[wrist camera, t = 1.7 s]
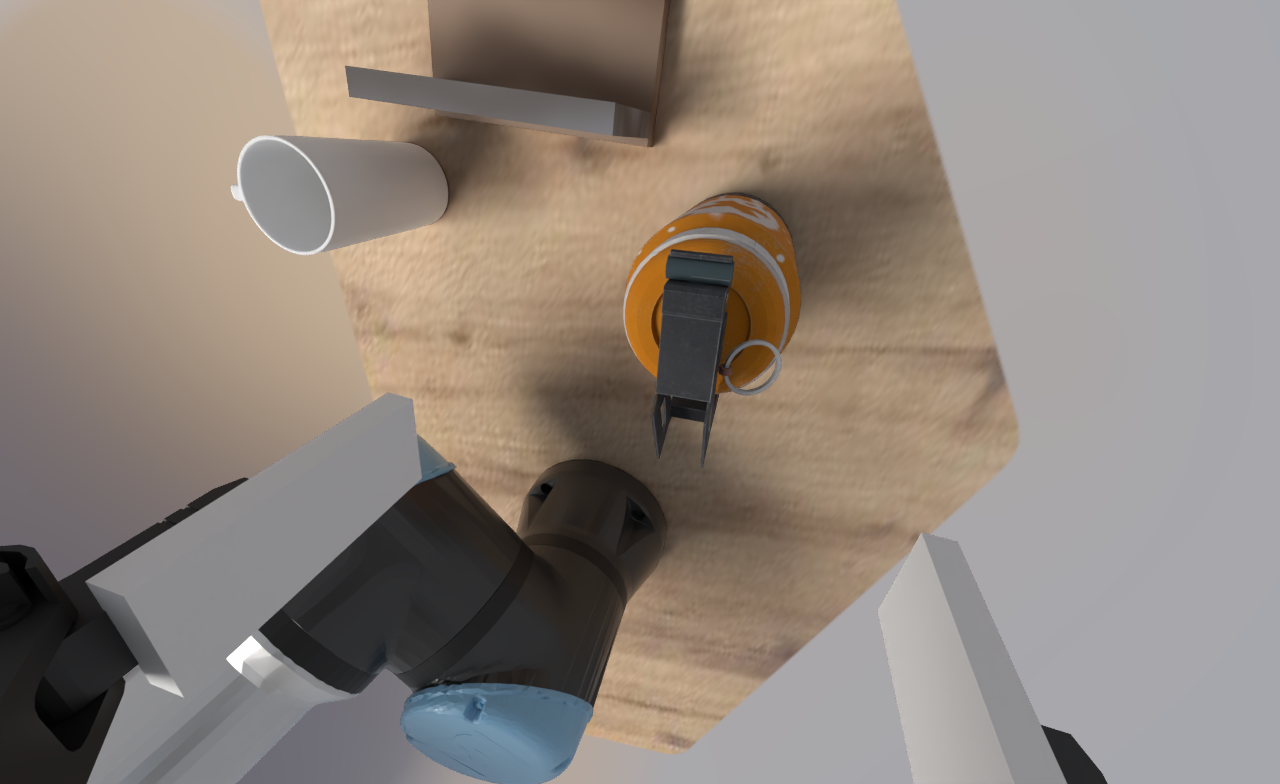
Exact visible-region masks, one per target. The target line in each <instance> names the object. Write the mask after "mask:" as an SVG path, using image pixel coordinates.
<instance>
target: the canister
mask: <svg viewBox="0 0 1280 784" xmlns="http://www.w3.org/2000/svg"><path fill="white" fill-rule="evenodd" d="M800 306H801V291H800V284H799V277H798V271H797V265H796V259H795V253H794V247H793V242H792V237H791V234H790V231H789V229H788V226H787V225H786V223H785V221H784V220H783V218H782V217H781V216H780V214H779V213H778V212H777V211H776V210H775V209H774V208H773V207H771V206H770V205H769V204H768V203H766V202H764V201H763V200H761V199H759V198H756V197H753V196H751V195H746V194H741V193H727V194H721V195H717V196H714V197H711V198H708V199H706V200H704V201H702V202H701V203H699V204H697V205H696V206H694V207H693V208H692V209H690V210H689V211H687V212H686V213H684V214H683V215H681V216H680V217H678V218H677V219H676V220H674V221H673V222H671V223H670V224H668V225H667V226H665V227H664V228H663V229H661V230H660V231H659V232H657V233H656V234H655V235H653V237H652V238H651V239H650V240H649V241H648V242H647V243H646V244H645V245H644V246H643V248H642V249H641V251H640V252H639V254H638V255H637V256H636V258H635V261H634V263H633V265H632V267H631V269H630V273H629V276H628V280H627V286H626V293H625V297H624V304H623V322H624V327H625V333H626V335H627V338H628V341H629V344H630V346H631V348H632V350H633V352H634V354H635V355H636V357H637V358H638V359H639V361H640V362H641V363H642V365H643V366H644V367H645V368H646V369H647V370H648V371H649V372H650V373H651V374H652V375H653V376H655V377H656V378H657V380H656V391H655V397H654V403H653V408H652V413H651V417H652V424H653V431H654V439H655V446H656V454H657V459H659V457H660V454H661V450H662V447H663V443H664V440H665V436H666V433H667V429H668V425H669V422H670V420H671V417H677V418H683V419H688V420H694V421H699V422H704V429H703V443H702V458H701V467H702V468H703V464H704V459H705V455H706V450H707V445H708V440H709V435H710V430H711V426H712V422H713V418H714V414H715V410H716V406H717V401H718V397H719V394H720V393H726V392H730V391H733V392H735V393H737V394H740V395H754V394H758V393H760V392H762V391H764V390H766V389H767V388H768V387H770V386H771V385H772V384H773V383H774V381H775V380H776V379H777V377H778V375H779V373H780V370H781V356H780V354H781V353H782V351H783V350H784V349H785V347H786V346H787V344H788V343H789V341H790V339H791V337H792V335H793V333H794V331H795V329H796V325H797V322H798V319H799V314H800ZM775 360H776V365H775V369H774V372H773V374H772V375H771V377H770V378H769V379H768V381H766V382H765V383H764V384H763V385H761V386H759V387H757V388H755V389H751V390H742V389H739V388H742V387H744V386H746V385H748V384H750V383H752V382H753V381H755V380H756V379H757V378H759V377H760V376H761V375H763V374H764V373H765V372H766V371H767V370H768V369H769V368H770V367H771V366H772V364H773V363H774V361H775ZM671 396H673V397H672V399H671ZM662 403H663V406H664V423H663V428H662V419H661V410H660V407H661V405H662Z"/></svg>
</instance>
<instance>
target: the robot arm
mask: <svg viewBox="0 0 1280 784" xmlns="http://www.w3.org/2000/svg"><path fill="white" fill-rule="evenodd" d="M455 468H456V466H455V465H454V463H451V462H447V461H446V460H445V459H444V458H443V457H442V456H441V455H440V454H439V453H438V452H437V451H436V450H435V449H434V448H433V447H431V446H430V445H429V444H428V443H427V442H426V441H425V440H424V439H423V438H422V437H420V436H419V435H418V434H417V433H416V425H415V417H414V408H413V400H412V399H410V398H407V397H403V396H399V395H395V394H391V393H386V394H385V395H383V396H382V397H380V398H378V399H377V400H375V401H374V402H372V403H371V404H369V405H367V406H366V407H364V408H362V409H361V410H359V411H358V412H356V413H354V414H353V415H351V416H350V417H348V418H346V419H345V420H343V421H342V422H340V423H338V424H337V425H335V426H333V427H332V428H330V429H329V430H327V431H325V432H324V433H322V434H321V435H319V436H317V437H316V438H314V439H313V440H311V441H310V442H308V443H306V444H305V445H303V446H302V447H300V448H298V449H297V450H295V451H294V452H292V453H290V454H289V455H287V456H285V457H284V458H282V459H281V460H279V461H278V462H276V463H274V464H273V465H271V466H270V467H268V468H266V469H265V470H263V471H261V472H260V473H258V474H257V475H255V476H253V477H252V478H250V479H248V478H242V479H239V480H236V481H233V482H231V483H228V484H226V485H223V486H220V487H218V488H215V489H213V490H211V491H209V492H208V493H206V494H204V495H203V496H201V497H199V498H198V499H196V500H194V501H193V502H191V503H190V504H188V505H186V508H185V509H180V510H178V511H176V512H175V513H173V514H171V515H170V516H168V517H166V518H165V519H164V521H163V522H162V523H156V524H155V525H153V526H151V527H150V528H148V529H146V530H145V531H143V532H141V533H140V534H138V535H136V536H135V537H133V538H131V539H130V540H128V541H127V542H125V543H123V544H121V545H120V546H118V547H116V548H115V549H113V550H111V551H110V552H108V553H107V554H105V555H103V556H101V557H100V558H98V559H97V560H95V561H93V562H92V563H90V564H88V565H87V566H85V567H83V568H82V569H80V570H78V571H77V572H75V573H73V574H72V575H70V576H68V577H66V578H64V579H62V580H61V581H59V582H58V581H57V580H56V578H55V577H54V575H53V574H52V573H51V571H50V570H49V568H48V567H47V565H46V564H45V562H44V561H43V559H42V558H41V556H40V555H39V554H38V552H37V551H36V550H35V548H33V547H28V546H23V545H10V546H0V784H236V783H237V782H238V781H239V780H240V779H241V778H242V777H243V776H244V775H245V774H246V773H247V772H248V771H249V770H250V769H251V768H252V767H253V766H254V765H255V764H256V763H257V762H258V761H259V760H260V759H261V758H262V757H263V756H264V755H265V754H266V753H267V752H268V751H269V750H270V749H271V748H272V747H273V746H274V745H275V744H276V743H277V742H278V741H279V740H280V739H281V738H282V737H283V736H284V735H285V734H286V733H287V732H288V731H289V730H290V729H291V728H292V727H293V726H294V724H296V723H297V722H298V721H299V720H300V719H301V718H302V717H303V716H304V715H305V714H306V713H307V712H308V711H309V710H310V709H311V708H312V707H313V706H315V705H318V704H320V703H326V702H332V701H338V700H345V699H351V698H354V697H356V696H357V695H358V694H360V693H361V692H362V691H363V690H364V689H365V688H366V687H367V686H368V685H369V683H371V681H372V680H373V679H374V678H375V677H376V676H377V675H378V674H379V673H380V672H381V671H383V670H384V669H388V670H389V671H391V672H392V673H394V674H395V675H396V676H397V677H398V678H399V679H401V680H402V681H403V682H404V683H405V684H406V685H408V686H409V688H410V689H411V690H412V691H413V694H411V696H410V697H409V698H408V699H407V700H406V702H405V703H404V709H403V712H402V715H401V719H400V726H401V729H402V731H403V732H404V733H406V737H407V740H408V741H409V742H410V743H411V744H412V745H413V746H414V747H415V748H416V749H417V750H419V751H420V752H421V753H423V754H424V755H426V756H427V757H429V758H430V759H432V760H433V761H435V762H437V763H439V764H441V765H443V766H445V767H447V768H449V769H451V770H454V771H456V772H459V773H461V774H464V775H467V776H470V777H473V778H476V779H480V780H484V781H488V782H492V783H497V784H541V783H544V782H547V781H550V780H552V779H554V778H555V777H557V776H559V775H560V774H561V773H562V772H563V771H565V769H566V768H567V767H568V766H569V764H570V763H571V761H572V759H573V757H574V755H575V753H576V750H577V747H578V745H579V742H580V740H581V738H582V735H583V733H584V730H585V728H586V726H587V723H588V722H589V721H590V720H591V718H592V716H593V707H594V704H595V701H596V698H597V694H598V691H599V688H600V685H601V682H602V679H603V676H604V672H605V669H606V666H607V663H608V660H609V657H610V654H611V650H612V647H613V644H614V641H615V638H616V635H617V632H618V628H619V625H620V622H621V619H622V616H623V613H624V610H625V607H626V604H627V602H628V601H629V600H630V599H631V597H632V596H633V595H634V594H635V592H636V591H637V590H638V589H639V588H640V586H641V585H642V584H643V583H644V582H645V580H646V579H647V578H648V577H649V575H650V574H651V573H652V572H653V571H654V569H655V568H656V566H657V564H658V562H659V560H660V557H661V554H662V551H663V547H664V544H665V540H666V523H665V518H664V515H663V513H662V510H661V508H660V506H659V504H658V503H657V501H656V500H655V498H654V497H653V495H652V494H651V493H650V492H649V491H648V490H647V489H646V488H645V487H644V486H643V485H642V484H641V483H640V482H639V481H637V480H636V479H635V478H633V477H632V476H630V475H629V474H627V473H625V472H624V471H622V470H620V469H617V468H615V467H613V466H610V465H607V464H604V463H600V462H595V461H587V460H575V461H567V462H563V463H560V464H557V465H555V466H553V467H551V468H549V469H548V470H546V471H545V472H544V473H543V474H542V475H541V476H540V477H539V478H538V479H537V481H536V482H535V483H534V485H533V486H532V488H531V489H530V490H529V492H528V494H527V496H526V498H525V500H524V503H523V506H522V511H521V515H520V519H519V524H518V528H517V532H516V533H515V532H514V531H513V530H512V529H511V527H510V526H509V525H508V524H507V523H506V522H505V521H504V520H503V519H502V518H501V517H500V516H499V515H498V514H497V513H496V512H495V511H494V510H493V509H492V508H491V507H490V506H489V505H488V504H487V503H486V502H485V500H484V499H483V498H482V497H481V496H480V495H479V494H478V493H477V492H476V491H475V490H474V489H473V488H472V487H471V486H470V485H469V484H468V483H467V482H466V481H465V480H464V479H463V478H462V477H461V476H460V475H459V473H458V472H457V471H456V470H455ZM878 615H879V620H880V625H881V630H882V634H883V639H884V644H885V648H886V653H887V658H888V663H889V667H890V672H891V677H892V681H893V686H894V691H895V696H896V700H897V705H898V709H899V715H900V719H901V724H902V728H903V733H904V738H905V743H906V748H907V752H908V757H909V762H910V767H911V771H912V776H913V781H914V784H1107V782H1106V780H1105V778H1104V776H1103V774H1102V773H1101V771H1100V770H1099V769H1098V768H1097V766H1096V765H1095V764H1094V763H1093V761H1092V760H1091V759H1090V758H1089V756H1088V755H1087V754H1086V753H1085V752H1084V750H1083V749H1082V748H1081V747H1080V745H1079V744H1078V743H1077V742H1076V741H1075V739H1074V738H1073V737H1072V736H1071V734H1068V733H1065V732H1062V731H1058V730H1055V729H1052V728H1049V727H1046V726H1043V725H1040V723H1039V721H1038V718H1037V716H1036V714H1035V712H1034V709H1033V707H1032V705H1031V703H1030V701H1029V698H1028V696H1027V694H1026V692H1025V689H1024V687H1023V685H1022V683H1021V681H1020V678H1019V676H1018V674H1017V672H1016V670H1015V668H1014V665H1013V663H1012V661H1011V659H1010V656H1009V654H1008V652H1007V650H1006V648H1005V645H1004V643H1003V641H1002V639H1001V636H1000V634H999V632H998V630H997V628H996V625H995V623H994V621H993V619H992V617H991V614H990V612H989V610H988V608H987V605H986V603H985V601H984V599H983V597H982V594H981V592H980V590H979V588H978V586H977V583H976V581H975V579H974V577H973V575H972V572H971V570H970V568H969V566H968V563H967V561H966V559H965V557H964V555H963V552H962V550H961V548H960V546H959V544H958V542H957V541H952V540H949V539H945V538H941V537H937V536H934V535H930V534H926V533H921V534H920V536H919V538H918V540H917V542H916V543H915V545H914V547H913V549H912V550H911V552H910V554H909V556H908V558H907V559H906V561H905V563H904V565H903V567H902V568H901V570H900V572H899V574H898V575H897V577H896V579H895V581H894V583H893V584H892V586H891V588H890V590H889V592H888V593H887V595H886V597H885V599H884V600H883V603H882V604H881V606H880V608H879V609H878ZM137 665H138V666H137ZM135 666H137V667H135ZM134 667H135V668H134ZM133 668H134V669H133ZM132 669H133V670H132ZM130 670H132V671H131V672H129V671H130ZM128 672H129V673H128ZM127 673H128V674H127ZM125 674H127V675H126V676H125V677H123V676H124V675H125Z"/></svg>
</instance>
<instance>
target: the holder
mask: <svg viewBox="0 0 1280 784" xmlns="http://www.w3.org/2000/svg"><path fill="white" fill-rule="evenodd" d="M669 8H670V0H428V10H429V25H430V39H431V54H432V68H433V78H432V77H424V76H417V75H410V74H402V73H395V72H388V71H380V70H373V69H366V68H358V67H351V66H345V68H346V75H347V83H348V90H349V97H355V98H362V99H368V100H375V101H382V102H389V103H395V104H402V105H409V106H416V107H422V108H429V109H435V112H436V115H438V116H444V117H451V118H458V119H464V120H471V121H478V122H484V123H491V124H498V125H504V126H511V127H518V128H524V129H531V130H537V131H544V132H551V133H557V134H564V135H571V136H577V137H584V138H591V139H597V140H604V141H611V142H617V143H624V144H631V145H637V146H644V147H652V145H653V137H654V129H655V121H656V113H657V104H658V96H659V88H660V80H661V72H662V64H663V56H664V48H665V40H666V32H667V24H668V16H669Z"/></svg>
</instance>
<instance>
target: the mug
mask: <svg viewBox="0 0 1280 784" xmlns="http://www.w3.org/2000/svg"><path fill="white" fill-rule="evenodd" d="M237 177H238V184H235V185H232V186H231V192H232V194H233V197H234V198H235V199H236V200H238V201H244V204H245V206H246V208H247V210H248V212H249V214H250V215H251V217H252V218H253V220H254V221H255V223H256V224H257V225H258V227H259V228H260V229H261V230H262V231H263V232H264V234H266V236H267V237H269V238H270V239H271V240H272V241H273V242H274V243H276V244H277V245H279V246H280V247H282V248H283V249H285V250H287V251H290V252H292V253H295V254H300V255H312V254H316V253H320V252H325V251H330V250H334V249H338V248H342V247H346V246H350V245H353V244H357V243H361V242H365V241H369V240H373V239H377V238H381V237H384V236H388V235H392V234H396V233H400V232H404V231H408V230H412V229H416V228H419V227H423V226H426V225H430V224H432V223H434V222H436V221H437V220H438V219H440V218H441V216H442V215H443V213H444V212H445V210H446V207H447V203H448V185H447V181H446V178H445V175H444V172H443V170H442V168H441V167H440V165H439V163H438V162H437V161H436V159H435V158H434V157H433V156H432V155H431V154H430V153H429V152H428V151H426V150H425V149H424V148H422V147H420V146H418V145H415V144H412V143H405V142H394V141H376V140H356V139H338V138H321V137H303V136H271V135H263V136H259V137H255V138H253V139H252V140H250V141H249V142H248V143H247V144H246V145H245V146H244V148H243V149H242V151H241V153H240V156H239V160H238V166H237Z"/></svg>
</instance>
